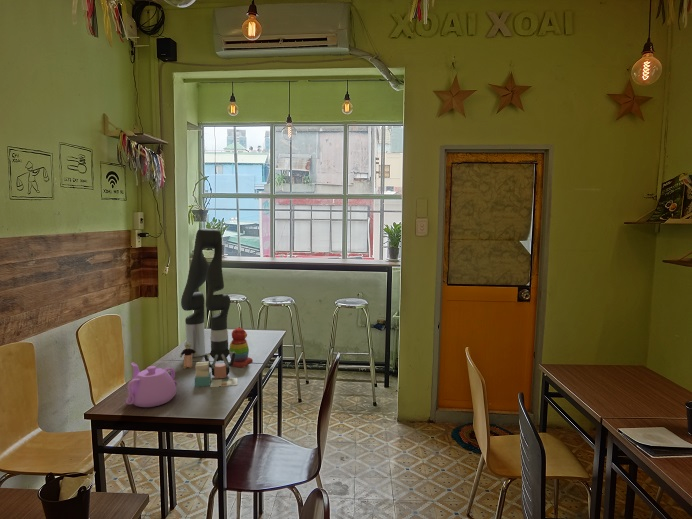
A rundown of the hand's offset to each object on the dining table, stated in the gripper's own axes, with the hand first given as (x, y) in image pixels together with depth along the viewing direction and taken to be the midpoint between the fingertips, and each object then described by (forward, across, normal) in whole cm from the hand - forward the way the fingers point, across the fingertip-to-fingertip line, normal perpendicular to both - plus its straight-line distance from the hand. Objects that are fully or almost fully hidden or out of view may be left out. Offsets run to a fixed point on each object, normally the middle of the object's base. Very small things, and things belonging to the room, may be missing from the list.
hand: (220, 375), depth 201 cm
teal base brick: (+1, +7, +7) cm, 10 cm away
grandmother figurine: (+1, +16, -17) cm, 23 cm away
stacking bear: (+1, -8, -17) cm, 19 cm away
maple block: (-3, +7, +7) cm, 10 cm away
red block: (0, 0, 0) cm, 0 cm away
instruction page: (+1, -2, +8) cm, 8 cm away
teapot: (+1, +26, +20) cm, 33 cm away
